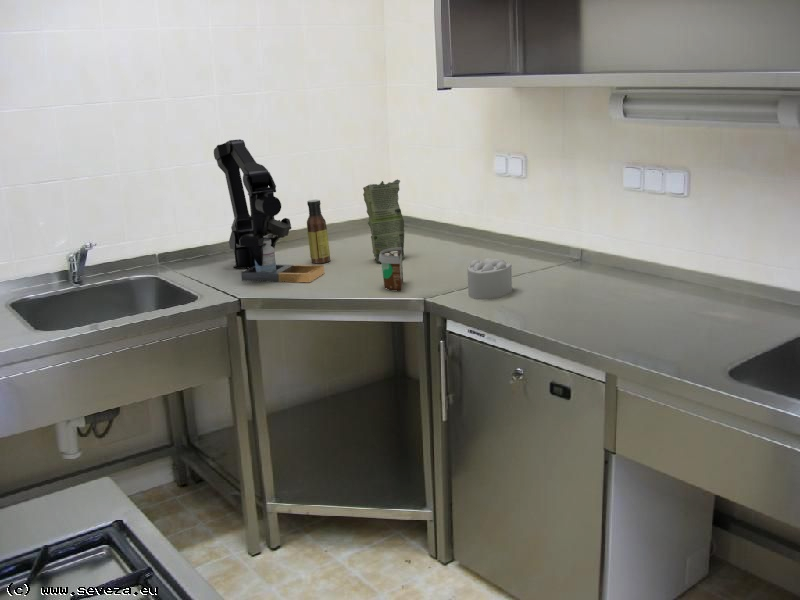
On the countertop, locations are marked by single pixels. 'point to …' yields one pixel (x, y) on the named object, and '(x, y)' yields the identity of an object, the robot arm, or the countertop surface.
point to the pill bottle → (267, 258)
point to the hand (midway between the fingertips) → (265, 263)
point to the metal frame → (285, 273)
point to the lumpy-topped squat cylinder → (489, 278)
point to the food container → (392, 268)
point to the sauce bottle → (317, 234)
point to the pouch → (384, 216)
